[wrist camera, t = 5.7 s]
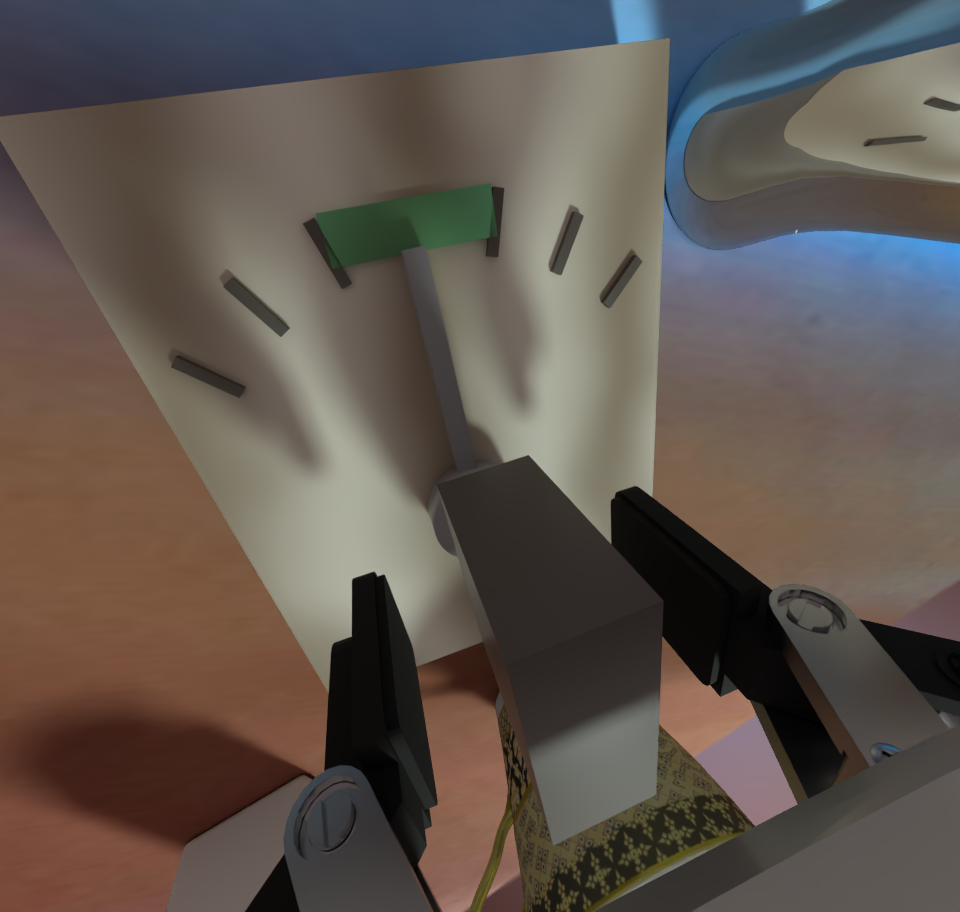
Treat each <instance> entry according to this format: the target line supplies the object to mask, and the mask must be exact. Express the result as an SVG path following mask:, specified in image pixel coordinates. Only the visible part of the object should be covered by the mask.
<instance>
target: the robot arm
mask: <svg viewBox="0 0 960 912" xmlns="http://www.w3.org/2000/svg"><path fill="white" fill-rule="evenodd" d="M611 545H612V546H613V547H614V548H615V549H616V550H617V551H618V552H619V553H620V554H621V555H622V556H623V558H624V559H625V560H626V561H627V562H628V563H629V564H630V565H631V566H632V567H633V568H634V569H635V570H636V572H637V573H638V574H639V575H640V576H641V577H642V578H643V579H644V580H645V581H646V582H647V583H648V585H649V586H650V587H651V588H652V589H653V590H654V591H655V592H656V593H657V594H658V595H659V596H660V598H661V599H662V600H663V628H662V636H663V637H664V639H665V640H666V641H667V642H668V643H669V645H670V646H671V647H672V648H673V649H674V651H675V652H676V653H677V654H678V655H679V657H680V658H681V659H682V660H683V661H684V663H685V664H686V665H687V666H688V667H689V669H690V670H691V671H692V672H693V673H694V675H695V676H696V677H697V678H698V679H699V680H700V681H701V682H702V683H703V684H704V685H707V686H708V685H711V686H712V688H713V689H714V690H715V691H716V692H717V693H718V695H719V696H720V697H721V696H723V695H725V694H728V693H730V692H732V691H734V690H737V689H739V691H740V692H741V693H742V694H743V695H744V696H745V697H746V698H747V699H748V700H750V701H751V703H752V706H753V708H754V710H755V712H756V714H757V717H758V719H759V721H760V723H761V725H762V727H763V730H764V732H765V734H766V736H767V738H768V740H769V743H770V745H771V747H772V749H773V751H774V753H775V756H776V758H777V760H778V762H779V764H780V766H781V769H782V771H783V773H784V775H785V777H786V779H787V781H788V784H789V786H790V788H791V790H792V792H793V794H794V797H795V799H796V801H797V803H798V805H796V806H794V807H792V808H790V809H788V810H786V811H784V812H782V813H781V814H778V815H776V816H775V817H773V818H771V819H769V820H767V821H765V822H763V823H761V824H759V825H757V826H755V827H753V828H751V829H750V830H748V831H746V832H744V833H742V834H740V835H738V836H736V837H734V838H732V839H730V840H729V841H727V842H725V843H723V844H721V845H719V846H717V847H715V848H713V849H711V850H709V851H707V852H706V853H704V854H702V855H700V856H698V857H696V858H694V859H692V860H690V861H688V862H686V863H685V864H683V865H681V866H679V867H677V868H675V869H673V870H671V871H669V872H667V873H665V874H664V875H662V876H660V877H658V878H656V879H654V880H652V881H650V882H648V883H646V884H644V885H643V886H641V887H639V888H637V889H635V890H633V891H631V892H629V893H627V894H626V895H624V896H622V897H620V898H618V899H616V900H614V901H612V902H610V903H609V904H607V905H605V906H603V907H601V908H599V909H597V910H595V911H594V912H960V642H959V641H954V640H950V639H945V638H941V637H936V636H932V635H927V634H923V633H919V632H914V631H909V630H905V629H901V628H896V627H892V626H888V625H883V624H879V623H874V622H870V621H865V620H861V619H858V618H857V617H856V615H855V614H854V613H853V612H852V611H851V609H849V608H848V607H847V606H846V605H845V604H844V603H843V602H842V601H841V600H839V599H838V598H836V597H834V596H833V595H831V594H830V593H827V592H825V591H822V590H820V589H818V588H814V587H811V586H807V585H799V584H788V585H781V586H779V587H777V588H775V589H774V590H773V591H772V590H771V589H770V588H769V587H767V586H766V585H765V584H763V583H762V582H761V581H760V580H758V579H757V578H756V577H754V576H753V575H752V574H751V573H749V572H748V571H747V570H745V569H744V568H743V567H742V566H740V565H739V564H738V563H736V562H735V561H734V560H733V559H731V558H730V557H729V556H727V555H726V554H725V553H724V552H722V551H721V550H720V549H718V548H717V547H716V546H714V545H713V544H712V543H711V542H709V541H708V540H707V539H705V538H704V537H703V536H702V535H700V534H699V533H698V532H696V531H695V530H694V529H693V528H691V527H690V526H689V525H687V524H686V523H685V522H683V521H682V520H681V519H679V518H678V517H677V516H676V515H674V514H673V513H672V512H670V511H669V510H668V509H667V508H665V507H664V506H663V505H661V504H660V503H659V502H658V501H656V500H655V499H654V498H652V497H651V496H650V495H649V494H647V493H646V492H645V491H643V490H642V489H641V488H639V487H638V486H633V487H630V488H627V489H624V490H621V491H618V492H616V494H615V498H613V499H612V500H611ZM436 805H437V794H436V788H435V781H434V775H433V769H432V762H431V756H430V750H429V743H428V737H427V731H426V725H425V718H424V712H423V706H422V699H421V693H420V687H419V681H418V674H417V668H416V662H415V656H414V651H413V647H412V644H411V641H410V638H409V636H408V633H407V630H406V628H405V625H404V623H403V620H402V617H401V615H400V612H399V610H398V607H397V604H396V602H395V599H394V597H393V594H392V592H391V589H390V586H389V584H388V581H387V579H386V576H385V575H380V576H377V574H376V573H375V572H371V573H368V574H365V575H362V576H359V577H356V578H353V579H352V637H349V638H346V639H343V640H340V641H337V642H335V643H333V645H332V649H331V661H330V679H329V697H328V715H327V733H326V751H325V769H324V772H322V773H321V774H319V775H318V776H316V777H315V778H314V779H313V780H312V781H311V782H310V783H309V784H308V785H307V786H306V787H305V788H304V789H303V790H302V792H301V793H300V795H299V797H298V798H297V800H296V801H295V803H294V804H293V806H292V809H291V811H290V814H289V816H288V819H287V821H286V826H285V832H284V838H283V841H284V852H285V853H284V855H283V856H282V858H281V859H280V861H279V862H278V864H277V865H276V867H275V868H274V870H273V871H272V872H271V874H270V875H269V877H268V878H267V880H266V881H265V883H264V884H263V886H262V887H261V889H260V890H259V891H258V893H257V894H256V896H255V897H254V899H253V900H252V902H251V903H250V905H249V906H248V908H247V909H246V911H245V912H442V910H441V908H440V906H439V904H438V902H437V900H436V898H435V896H434V894H433V892H432V890H431V888H430V886H429V884H428V882H427V880H426V878H425V876H424V874H423V872H422V870H421V868H420V866H419V864H418V863H419V860H420V858H421V856H422V854H423V852H424V850H425V848H426V846H427V844H426V836H425V829H427V828H429V827H431V826H432V825H431V817H430V810H429V808H431V807H434V806H436Z"/></svg>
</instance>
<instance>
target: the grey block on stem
mask: <svg viewBox="0 0 960 912" xmlns="http://www.w3.org/2000/svg"><path fill="white" fill-rule="evenodd" d="M400 253H401V257H402V261H403V265H404V269H405V272H406V276H407V280H408V284H409V288H410V292H411V295H412V299H413V303H414V307H415V311H416V315H417V319H418V322H419V326H420V330H421V334H422V338H423V342H424V345H425V349H426V353H427V357H428V361H429V365H430V369H431V372H432V376H433V380H434V384H435V388H436V392H437V396H438V399H439V403H440V407H441V411H442V415H443V419H444V422H445V426H446V430H447V434H448V438H449V442H450V446H451V449H452V453H453V457H454V461H455V465H456V466H454V467H452V468H451V469H449V470H448V471H446V472H445V473H444V474H443V475H442V476H441V477H440V478H439V479H438V480H437V482H436V483H435V485H434V487H433V488H432V491H431V493H430V496H429V501H428V510H429V515H430V518H431V522H432V525H433V528H434V531H435V535H436V537H437V540H438V542H439V544H440V545H441V546H442V548H443V549H444V550H445V551H447V552H448V553H449V554H451V555H453V556H455V557H457V558H458V559H459V562H460V566H461V569H462V572H463V576H464V579H465V583H466V586H467V589H468V593H469V596H470V600H471V603H472V606H473V610H474V613H475V617H476V620H477V623H478V627H479V630H480V634H481V637H482V640H483V644H484V647H485V650H486V652H487V655H488V658H489V661H490V664H491V667H492V670H493V673H494V676H495V678H496V681H497V684H498V687H499V690H500V693H501V696H502V699H503V702H504V704H505V707H506V710H507V713H508V716H509V719H510V722H511V725H512V728H513V731H514V733H515V736H516V739H517V742H518V745H519V748H520V751H521V754H522V757H523V759H524V762H525V765H526V768H527V771H528V774H529V777H530V780H531V783H532V785H533V788H534V791H535V794H536V797H537V800H538V803H539V806H540V809H541V812H542V814H543V817H544V820H545V823H546V826H547V829H548V832H549V835H550V838H551V840H552V843H553V846H554V845H556V844H558V843H560V842H562V841H564V840H566V839H568V838H570V837H572V836H574V835H576V834H578V833H580V832H582V831H584V830H586V829H588V828H590V827H592V826H594V825H596V824H598V823H600V822H602V821H604V820H606V819H608V818H610V817H612V816H614V815H616V814H618V813H620V812H622V811H624V810H626V809H628V808H630V807H632V806H634V805H636V804H638V803H640V802H642V801H645V800H647V799H649V798H651V797H653V796H655V795H656V787H657V760H658V734H659V707H660V681H661V654H662V628H663V600H662V599H661V598H660V596H659V595H658V594H657V593H656V592H655V591H654V590H653V589H652V588H651V587H650V586H649V585H648V583H647V582H646V581H645V580H644V579H643V578H642V577H641V576H640V575H639V574H638V573H637V572H636V570H635V569H634V568H633V567H632V566H631V565H630V564H629V563H628V562H627V561H626V560H625V559H624V558H623V556H622V555H621V554H620V553H619V552H618V551H617V550H616V549H615V548H614V547H613V546H612V545H611V543H610V542H609V541H608V540H607V539H606V538H605V537H604V536H603V535H602V534H601V533H600V532H599V530H598V529H597V528H596V527H595V526H594V525H593V524H592V523H591V522H590V521H589V520H588V519H587V518H586V516H585V515H584V514H583V513H582V512H581V511H580V510H579V509H578V508H577V507H576V506H575V505H574V503H573V502H572V501H571V500H570V499H569V498H568V497H567V496H566V495H565V494H564V493H563V492H562V491H561V489H560V488H559V487H558V486H557V485H556V484H555V483H554V482H553V481H552V480H551V479H550V478H549V476H548V475H547V474H546V473H545V472H544V471H543V470H542V469H541V468H540V467H539V466H538V465H537V463H536V462H535V461H534V460H533V459H532V458H531V457H530V456H529V455H527V456H524V457H521V458H518V459H514V460H511V461H508V462H505V463H502V464H497V463H495V462H492V461H488V460H475V456H474V452H473V447H472V443H471V439H470V434H469V430H468V426H467V421H466V417H465V413H464V408H463V404H462V400H461V395H460V391H459V387H458V382H457V378H456V373H455V369H454V365H453V360H452V356H451V352H450V347H449V343H448V339H447V334H446V330H445V326H444V321H443V317H442V313H441V308H440V304H439V300H438V295H437V291H436V287H435V282H434V278H433V274H432V269H431V265H430V261H429V256H428V252H427V248H426V245H425V246H421V247H416V248H412V249H407V250H403V251H400Z"/></svg>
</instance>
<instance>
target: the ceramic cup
mask: <svg viewBox="0 0 960 912" xmlns="http://www.w3.org/2000/svg"><path fill="white" fill-rule="evenodd" d="M495 709H496V714H497V719H498V725H499V731H500V737H501V742H502V748H503V756H504V763H505V770H506V777H507V784H508V796H507V804H506V809H505V813H504V816H503V818H502V820H501V823H500V825H499V828H498V830H497V834H496V838H495V842H494V846H493V850H492V854H491V857H490V860H489V863H488V865H487V868H486V870H485V873H484V875H483V877H482V880H481V882H480V884H479V887H478V889H477V891H476V894H475V896H474V899H473V902H472V905H471V908H470V912H481V910H482V907H483V904H484V901H485V899H486V897H487V894H488V892H489V889H490V887H491V884H492V882H493V880H494V877H495V874H496V872H497V869H498V866H499V864H500V860H501V856H502V852H503V848H504V843H505V839H506V836H507V833H508V831H509V829H510V827H511V826H512V824H514V834H515V841H516V847H517V853H518V859H519V865H520V873H521V881H522V888H523V897H524V899H523V907H522V912H594V911H595V910H597V909H599V908H601V907H603V906H605V905H607V904H609V903H610V902H612V901H614V900H616V899H618V898H620V897H622V896H624V895H626V894H627V893H629V892H631V891H633V890H635V889H637V888H639V887H641V886H643V885H644V884H646V883H648V882H650V881H652V880H654V879H656V878H658V877H660V876H662V875H664V874H665V873H667V872H669V871H671V870H673V869H675V868H677V867H679V866H681V865H683V864H685V863H686V862H688V861H690V860H692V859H694V858H696V857H698V856H700V855H702V854H704V853H706V852H707V851H709V850H711V849H713V848H715V847H717V846H719V845H721V844H723V843H725V842H727V841H729V840H730V839H732V838H734V837H736V836H738V835H740V834H742V833H744V832H746V831H748V830H750V829H751V828H753V827H755V826H754V825H753V824H752V822H751V821H750V820H749V819H748V818H747V817H746V815H745V814H744V813H743V812H742V811H741V810H740V808H739V807H738V806H737V805H736V804H735V803H734V801H733V800H732V799H731V798H730V797H729V796H728V795H727V793H726V792H725V791H724V790H723V789H722V788H721V787H720V786H719V785H718V784H717V783H716V781H715V780H714V779H713V778H712V777H711V776H710V775H709V774H708V773H707V772H706V770H705V769H704V768H703V767H702V766H701V765H700V764H699V763H698V762H697V761H696V760H695V759H694V758H693V757H692V756H691V755H690V754H689V753H688V752H687V751H686V750H685V749H684V748H683V747H682V746H681V745H680V744H679V743H678V742H677V741H676V740H675V739H674V738H673V737H672V736H671V735H669V734H668V733H667V732H666V731H665V730H664V729H663V728H662V727H661V726H660V725H659V734H658V760H657V787H656V795H655V796H653V797H651V798H649V799H647V800H645V801H642V802H640V803H638V804H636V805H634V806H632V807H630V808H628V809H626V810H624V811H622V812H620V813H618V814H616V815H614V816H612V817H610V818H608V819H606V820H604V821H602V822H600V823H598V824H596V825H594V826H592V827H590V828H588V829H586V830H584V831H582V832H580V833H578V834H576V835H574V836H572V837H570V838H568V839H566V840H564V841H562V842H560V843H558V844H556V845H554V846H553V843H552V840H551V838H550V835H549V832H548V829H547V826H546V823H545V820H544V817H543V814H542V812H541V809H540V806H539V803H538V800H537V797H536V794H535V791H534V788H533V785H532V783H531V780H530V777H529V774H528V771H527V768H526V765H525V762H524V759H523V757H522V754H521V751H520V748H519V745H518V742H517V739H516V736H515V733H514V731H513V728H512V725H511V722H510V719H509V716H508V713H507V710H506V707H505V704H504V702H503V699H502V696H501V693H500V691H499V694H498V696H497V699H496V704H495Z"/></svg>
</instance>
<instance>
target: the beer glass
mask: <svg viewBox="0 0 960 912" xmlns="http://www.w3.org/2000/svg"><path fill="white" fill-rule="evenodd" d="M665 189H666V195H667V200H668V204H669V207H670V210H671V213H672V215H673V217H674V219H675V221H676V223H677V225H678V226H679V228H680V229H681V231H682V232H683V233H684V234H685V235H686V236H687V237H688V238H689V239H690V240H691V241H693V242H694V243H696V244H698V245H700V246H702V247H705V248H708V249H712V250H730V249H736V248H740V247H744V246H748V245H752V244H755V243H759V242H762V241H766V240H769V239H773V238H777V237H780V236H785V235H790V234H795V233H805V232H814V231H852V232H862V233H873V234H884V235H893V236H900V237H908V238H916V239H924V240H932V241H940V242H948V243H956V244H960V0H831V1H829V2H827V3H825V4H823V5H821V6H818V7H816V8H813V9H811V10H809V11H806V12H803V13H800V14H797V15H794V16H791V17H788V18H784V19H781V20H778V21H774V22H771V23H767V24H764V25H761V26H758V27H755V28H751V29H749V30H746V31H744V32H742V33H740V34H738V35H736V36H734V37H732V38H730V39H729V40H727V41H726V42H724V43H723V44H722V45H720V46H719V47H718V48H717V49H716V50H715V51H714V52H713V53H712V54H711V55H710V56H709V57H708V58H707V59H706V60H705V61H704V62H703V63H702V64H701V66H700V67H699V68H698V70H697V71H696V72H695V74H694V75H693V77H692V78H691V80H690V81H689V83H688V85H687V87H686V88H685V90H684V92H683V94H682V96H681V98H680V101H679V103H678V105H677V108H676V110H675V113H674V116H673V119H672V122H671V126H670V130H669V134H668V138H667V144H666V158H665Z"/></svg>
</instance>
